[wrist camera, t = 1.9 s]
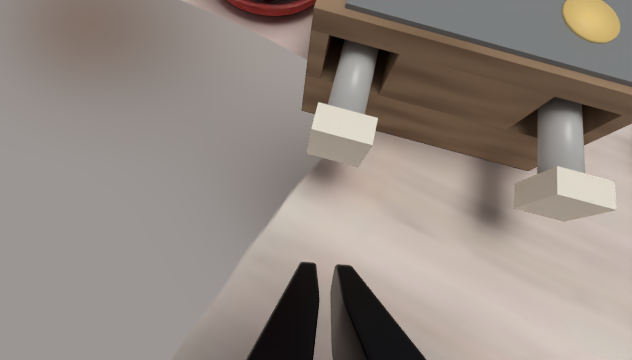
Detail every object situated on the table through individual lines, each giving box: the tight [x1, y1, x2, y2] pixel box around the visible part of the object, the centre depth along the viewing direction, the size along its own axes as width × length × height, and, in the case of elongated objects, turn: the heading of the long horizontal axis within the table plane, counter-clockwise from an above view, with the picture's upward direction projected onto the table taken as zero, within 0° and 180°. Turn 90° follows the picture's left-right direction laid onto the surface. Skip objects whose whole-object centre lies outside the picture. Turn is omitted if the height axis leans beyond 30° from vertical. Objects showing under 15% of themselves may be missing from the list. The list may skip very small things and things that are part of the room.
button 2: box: [306, 39, 379, 167], centre depth 19 cm, size 10×3×3 cm, turn 166°
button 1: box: [514, 97, 617, 221], centre depth 19 cm, size 10×3×3 cm, turn 167°
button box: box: [302, 0, 632, 171], centre depth 22 cm, size 8×19×10 cm, turn 76°
